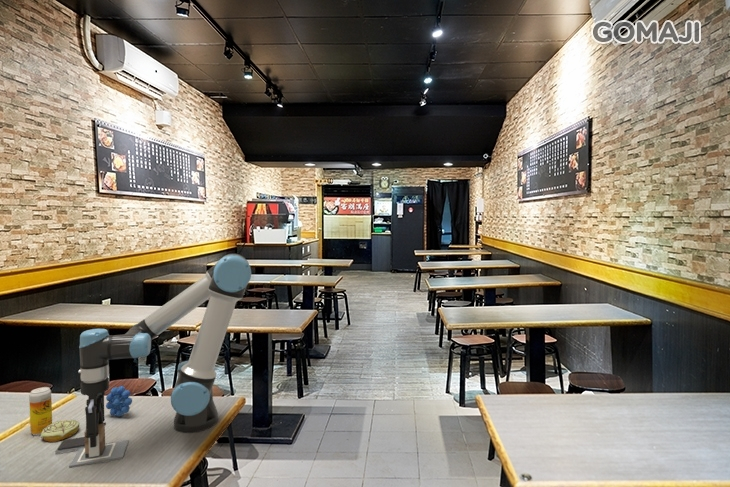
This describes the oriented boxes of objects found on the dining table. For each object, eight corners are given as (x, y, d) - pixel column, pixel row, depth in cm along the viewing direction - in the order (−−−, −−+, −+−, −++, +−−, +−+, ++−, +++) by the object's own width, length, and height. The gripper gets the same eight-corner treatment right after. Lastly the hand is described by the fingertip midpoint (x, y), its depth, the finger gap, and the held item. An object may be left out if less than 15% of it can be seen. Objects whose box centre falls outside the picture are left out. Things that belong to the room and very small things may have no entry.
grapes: (140, 413, 161) (140, 383, 160) (126, 421, 154) (125, 389, 154) (116, 410, 164) (115, 380, 163) (101, 417, 157) (100, 386, 157)
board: (128, 441, 140) (128, 439, 140) (122, 458, 130) (122, 455, 130) (79, 449, 135) (79, 447, 135) (69, 467, 125) (69, 465, 125)
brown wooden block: (105, 447, 135) (104, 423, 134) (102, 454, 130) (101, 429, 130) (89, 450, 133) (88, 425, 133) (85, 457, 129) (84, 432, 128)
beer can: (40, 436, 143) (38, 394, 143) (26, 435, 144) (24, 392, 144) (56, 428, 149) (55, 387, 149) (42, 427, 150) (41, 386, 150)
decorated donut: (33, 444, 139) (33, 433, 139) (55, 428, 150) (55, 418, 150) (66, 442, 140) (65, 431, 140) (85, 427, 150) (85, 417, 150)
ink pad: (93, 438, 142) (93, 434, 142) (88, 448, 135) (88, 444, 135) (62, 443, 139) (62, 439, 139) (55, 454, 132) (55, 450, 132)
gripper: (88, 371, 138) (89, 440, 139) (72, 390, 121) (74, 469, 122) (114, 368, 140) (115, 436, 141) (102, 387, 124) (103, 464, 125)
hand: (96, 451), depth 132 cm, fingers closed on brown wooden block, 4 cm apart
